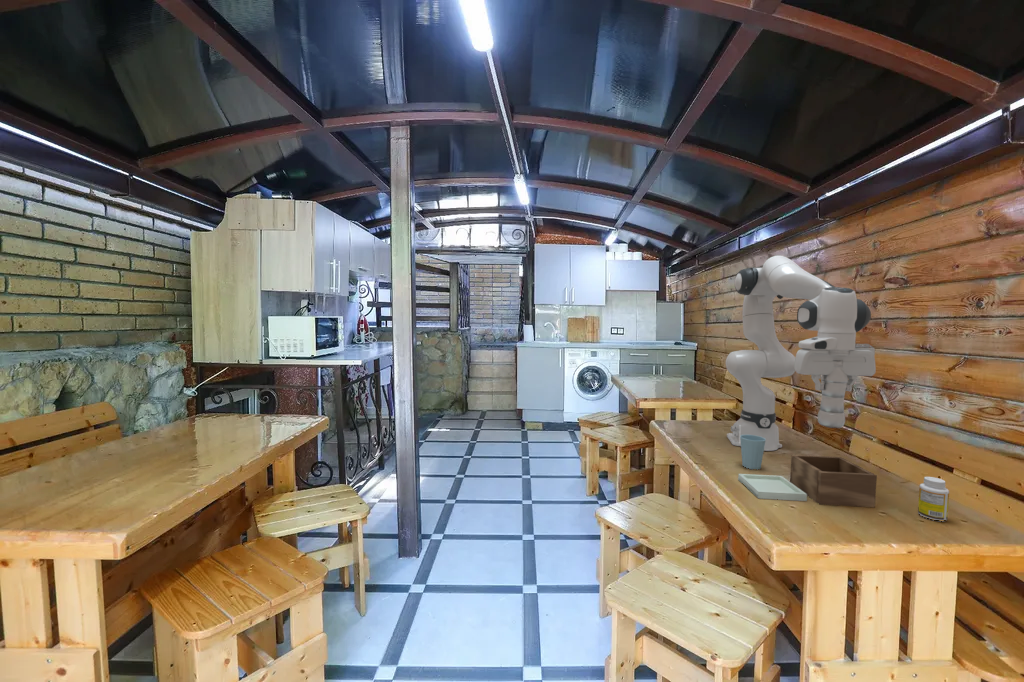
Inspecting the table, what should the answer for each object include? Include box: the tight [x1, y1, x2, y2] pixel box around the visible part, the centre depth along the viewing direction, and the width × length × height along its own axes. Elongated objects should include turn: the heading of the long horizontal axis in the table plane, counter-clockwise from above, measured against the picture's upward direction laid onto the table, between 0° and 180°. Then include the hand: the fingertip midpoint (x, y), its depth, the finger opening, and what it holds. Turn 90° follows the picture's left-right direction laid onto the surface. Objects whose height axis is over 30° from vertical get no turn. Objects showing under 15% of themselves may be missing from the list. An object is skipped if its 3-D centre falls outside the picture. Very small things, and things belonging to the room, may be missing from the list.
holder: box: [789, 454, 878, 508], centre depth 125 cm, size 15×14×9 cm
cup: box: [740, 435, 766, 470], centre depth 147 cm, size 8×8×10 cm
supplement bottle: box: [917, 476, 950, 521], centre depth 111 cm, size 6×6×10 cm
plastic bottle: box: [817, 360, 848, 429], centre depth 124 cm, size 6×7×20 cm
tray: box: [737, 473, 808, 502], centre depth 128 cm, size 14×13×2 cm
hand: (833, 390), depth 123 cm, fingers closed on plastic bottle, 6 cm apart
